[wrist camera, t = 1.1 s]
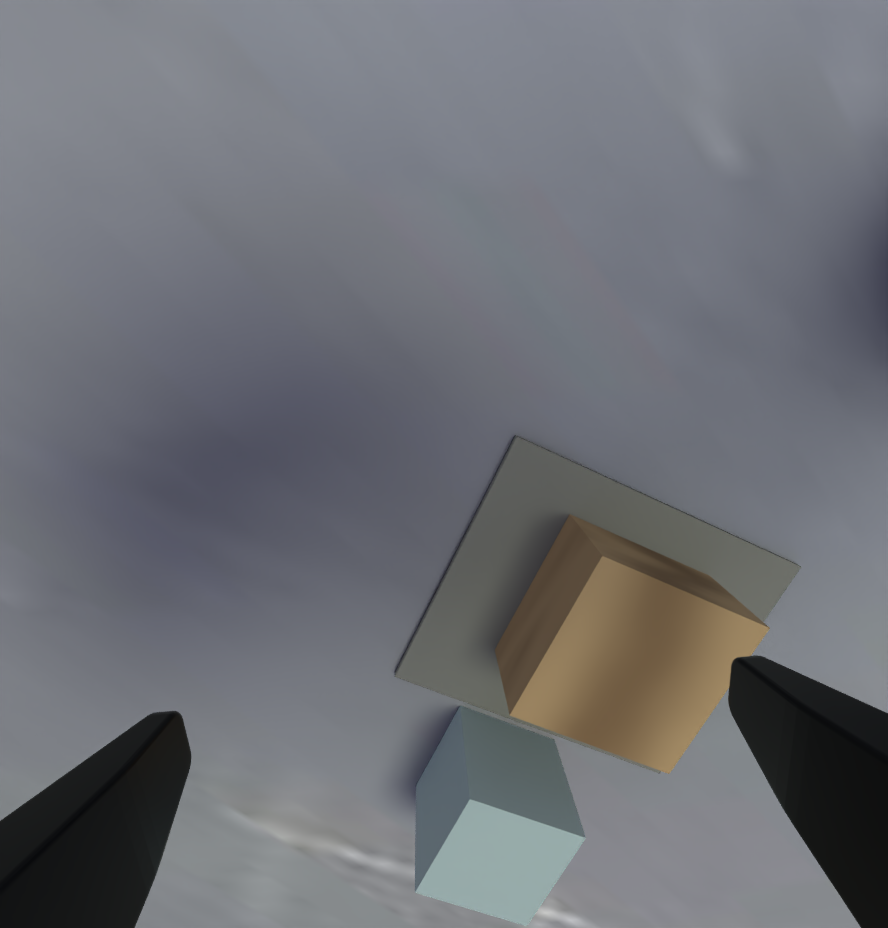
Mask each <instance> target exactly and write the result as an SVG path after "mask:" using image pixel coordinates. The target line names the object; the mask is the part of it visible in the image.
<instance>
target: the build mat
mask: <svg viewBox="0 0 888 928" xmlns="http://www.w3.org/2000/svg"><path fill="white" fill-rule="evenodd" d="M569 514H571V515H573V516H575V517H577V518H580V519H582V520H584V521H587V522H589V523H591V524H593V525H596V526H598V527H600V528H602V529H605V530H607V531H609V532H611V533H614V534H616V535H618V536H621V537H623V538H625V539H627V540H630V541H632V542H634V543H636V544H639V545H641V546H643V547H646V548H648V549H650V550H652V551H655V552H657V553H659V554H661V555H664V556H666V557H668V558H671V559H673V560H675V561H677V562H680V563H682V564H684V565H686V566H689V567H691V568H693V569H695V570H698V571H700V572H702V573H705V574H707V575H709V576H711V577H712V578H713V579H714V580H715V581H716V582H718V583H719V584H720V585H721V586H722V587H723V588H724V589H726V590H727V591H728V592H729V593H730V594H731V595H732V596H734V597H735V598H736V599H737V600H738V601H739V602H741V603H742V604H743V605H744V606H745V607H746V608H747V609H749V610H750V611H751V612H752V613H753V614H754V615H755V616H757V617H758V618H759V619H760V620H761V621H762V622H764V621H765V619H766V618H767V616H768V615H769V613H770V612H771V610H772V609H773V607H774V606H775V605H776V603H777V602H778V600H779V599H780V597H781V596H782V594H783V593H784V591H785V590H786V588H787V587H788V586H789V584H790V583H791V581H792V580H793V578H794V577H795V575H796V574H797V572H798V571H799V569H800V568H801V567H800V566H799V565H797V564H795V563H793V562H791V561H789V560H787V559H784V558H782V557H780V556H778V555H776V554H774V553H771V552H769V551H767V550H765V549H763V548H760V547H758V546H756V545H754V544H752V543H750V542H747V541H745V540H743V539H741V538H739V537H737V536H734V535H732V534H730V533H728V532H726V531H723V530H721V529H719V528H717V527H715V526H713V525H710V524H708V523H706V522H704V521H702V520H699V519H697V518H695V517H693V516H691V515H689V514H686V513H684V512H682V511H680V510H678V509H675V508H673V507H671V506H669V505H667V504H665V503H662V502H660V501H658V500H656V499H654V498H651V497H649V496H647V495H645V494H643V493H641V492H638V491H636V490H634V489H632V488H630V487H627V486H625V485H623V484H621V483H619V482H617V481H614V480H612V479H610V478H608V477H606V476H603V475H601V474H599V473H597V472H595V471H593V470H590V469H588V468H586V467H584V466H582V465H579V464H577V463H575V462H573V461H571V460H569V459H566V458H564V457H562V456H560V455H558V454H555V453H553V452H551V451H549V450H547V449H545V448H542V447H540V446H538V445H536V444H534V443H531V442H529V441H527V440H525V439H523V438H521V437H518V436H516V435H515V437H514V439H513V441H512V443H511V445H510V447H509V449H508V451H507V453H506V455H505V457H504V459H503V461H502V463H501V465H500V467H499V469H498V471H497V472H496V474H495V476H494V478H493V480H492V482H491V484H490V486H489V488H488V490H487V492H486V494H485V496H484V498H483V500H482V502H481V504H480V506H479V508H478V510H477V512H476V514H475V516H474V518H473V520H472V522H471V524H470V526H469V528H468V530H467V532H466V534H465V536H464V538H463V540H462V541H461V543H460V545H459V547H458V549H457V551H456V553H455V555H454V557H453V559H452V561H451V563H450V565H449V567H448V569H447V571H446V573H445V575H444V577H443V579H442V581H441V583H440V585H439V587H438V589H437V591H436V593H435V595H434V597H433V599H432V601H431V603H430V605H429V607H428V609H427V610H426V612H425V614H424V616H423V618H422V620H421V622H420V624H419V626H418V628H417V630H416V632H415V634H414V636H413V638H412V640H411V642H410V644H409V646H408V648H407V650H406V652H405V654H404V656H403V658H402V660H401V662H400V664H399V666H398V668H397V670H396V672H395V677H397V678H400V679H403V680H406V681H408V682H411V683H414V684H416V685H419V686H422V687H425V688H427V689H430V690H433V691H436V692H438V693H441V694H444V695H447V696H449V697H452V698H455V699H457V700H460V701H463V702H466V703H468V704H471V705H474V706H477V707H479V708H482V709H485V710H488V711H490V712H493V713H496V714H498V715H501V716H504V717H507V718H509V719H512V720H515V721H518V722H520V723H523V724H526V725H529V726H531V727H534V728H537V729H539V730H542V731H545V732H548V733H550V734H553V735H556V736H559V737H561V738H564V739H567V740H570V741H572V742H575V743H578V744H580V745H583V746H586V747H589V748H591V749H594V750H597V751H600V752H602V753H605V754H608V755H611V756H613V757H616V758H619V759H621V760H624V761H627V762H630V763H632V764H635V765H638V766H641V767H643V768H646V769H649V770H652V771H654V772H657V773H660V772H661V771H660V770H657V769H654V768H652V767H649V766H646V765H643V764H641V763H638V762H635V761H633V760H630V759H627V758H624V757H622V756H619V755H616V754H613V753H611V752H608V751H605V750H603V749H600V748H597V747H594V746H592V745H589V744H586V743H584V742H581V741H578V740H575V739H573V738H570V737H567V736H564V735H562V734H559V733H556V732H554V731H551V730H548V729H545V728H543V727H540V726H537V725H534V724H532V723H529V722H526V721H524V720H521V719H518V718H515V717H513V716H510V715H509V710H508V706H507V702H506V697H505V693H504V688H503V684H502V680H501V675H500V671H499V667H498V662H497V658H496V653H495V648H496V646H497V645H498V643H499V641H500V639H501V637H502V636H503V634H504V632H505V630H506V628H507V626H508V625H509V623H510V621H511V619H512V617H513V616H514V614H515V612H516V610H517V608H518V607H519V605H520V603H521V601H522V599H523V598H524V596H525V594H526V592H527V590H528V589H529V587H530V585H531V583H532V581H533V580H534V578H535V576H536V574H537V572H538V570H539V569H540V567H541V565H542V563H543V561H544V560H545V558H546V556H547V554H548V552H549V551H550V549H551V547H552V545H553V543H554V542H555V540H556V538H557V536H558V534H559V533H560V531H561V529H562V527H563V525H564V524H565V522H566V520H567V518H568V516H569Z"/></svg>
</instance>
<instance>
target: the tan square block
mask: <svg viewBox="0 0 888 928" xmlns="http://www.w3.org/2000/svg"><path fill="white" fill-rule="evenodd" d="M769 629H770V628H769V627H768V626H767V625H766V624H765V623H763V622H762V621H761V620H760V619H759V618H758V617H757V616H755V615H754V614H753V613H752V612H751V611H750V610H749V609H747V608H746V607H745V606H744V605H743V604H742V603H741V602H739V601H738V600H737V599H736V598H735V597H734V596H732V595H731V594H730V593H729V592H728V591H727V590H726V589H724V588H723V587H722V586H721V585H720V584H719V583H718V582H716V581H715V580H714V579H713V578H712V577H711V576H709V575H707V574H705V573H702V572H700V571H698V570H695V569H693V568H691V567H689V566H686V565H684V564H682V563H680V562H677V561H675V560H673V559H671V558H668V557H666V556H664V555H661V554H659V553H657V552H655V551H652V550H650V549H648V548H646V547H643V546H641V545H639V544H636V543H634V542H632V541H630V540H627V539H625V538H623V537H621V536H618V535H616V534H614V533H611V532H609V531H607V530H605V529H602V528H600V527H598V526H596V525H593V524H591V523H589V522H587V521H584V520H582V519H580V518H577V517H575V516H573V515H571V514H569V516H568V518H567V520H566V522H565V524H564V525H563V527H562V529H561V531H560V533H559V534H558V536H557V538H556V540H555V542H554V543H553V545H552V547H551V549H550V551H549V552H548V554H547V556H546V558H545V560H544V561H543V563H542V565H541V567H540V569H539V570H538V572H537V574H536V576H535V578H534V580H533V581H532V583H531V585H530V587H529V589H528V590H527V592H526V594H525V596H524V598H523V599H522V601H521V603H520V605H519V607H518V608H517V610H516V612H515V614H514V616H513V617H512V619H511V621H510V623H509V625H508V626H507V628H506V630H505V632H504V634H503V636H502V637H501V639H500V641H499V643H498V645H497V646H496V648H495V653H496V658H497V662H498V667H499V671H500V675H501V680H502V684H503V688H504V693H505V697H506V702H507V706H508V710H509V715H510V716H513V717H515V718H518V719H521V720H524V721H526V722H529V723H532V724H534V725H537V726H540V727H543V728H545V729H548V730H551V731H554V732H556V733H559V734H562V735H564V736H567V737H570V738H573V739H575V740H578V741H581V742H584V743H586V744H589V745H592V746H594V747H597V748H600V749H603V750H605V751H608V752H611V753H613V754H616V755H619V756H622V757H624V758H627V759H630V760H633V761H635V762H638V763H641V764H643V765H646V766H649V767H652V768H654V769H657V770H660V771H663V772H665V773H668V774H669V773H670V772H671V771H672V769H673V768H674V766H675V765H676V763H677V762H678V760H679V759H680V758H681V756H682V755H683V753H684V752H685V750H686V749H687V747H688V746H689V745H690V743H691V742H692V740H693V739H694V737H695V736H696V734H697V733H698V731H699V730H700V729H701V727H702V726H703V724H704V723H705V721H706V720H707V718H708V717H709V716H710V714H711V713H712V711H713V710H714V708H715V707H716V705H717V704H718V703H719V701H720V700H721V698H722V697H723V695H724V694H725V692H726V691H727V689H728V688H729V685H730V673H731V664H732V662H733V660H734V659H735V658H737V657H745V656H751V655H752V653H753V652H754V650H755V649H756V647H757V646H758V645H759V643H760V642H761V640H762V639H763V637H764V636H765V634H766V633H767V632H768V630H769Z"/></svg>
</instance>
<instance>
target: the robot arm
mask: <svg viewBox="0 0 888 928" xmlns="http://www.w3.org/2000/svg"><path fill="white" fill-rule="evenodd" d="M728 702H729V707H730V711H731V714H732V716H733V718H734V720H735V722H736V723H737V725H738V727H739V729H740V731H741V733H742V735H743V736H744V738H745V740H746V742H747V744H748V746H749V747H750V749H751V751H752V753H753V755H754V757H755V759H756V760H757V762H758V764H759V766H760V768H761V770H762V772H763V773H764V775H765V777H766V779H767V781H768V783H769V784H770V786H771V788H772V790H773V792H774V794H775V795H776V797H777V799H778V801H779V802H780V804H781V806H782V808H783V809H784V811H785V813H786V814H787V816H788V817H789V819H790V820H791V822H792V824H793V825H794V827H795V828H796V830H797V831H798V833H799V834H800V836H801V837H802V839H803V840H804V842H805V843H806V845H807V846H808V848H809V850H810V851H811V853H812V854H813V856H814V857H815V859H816V860H817V862H818V863H819V865H820V866H821V868H822V869H823V871H824V872H825V874H826V875H827V877H828V878H829V880H830V881H831V883H832V884H833V886H834V887H835V889H836V890H837V892H838V893H839V895H840V896H841V898H842V899H843V901H844V902H845V904H846V905H847V907H848V909H849V910H850V912H851V913H852V915H853V916H854V918H855V919H856V921H857V922H858V924H859V925H860V927H861V928H888V713H886V712H884V711H881V710H879V709H877V708H875V707H873V706H870V705H868V704H866V703H864V702H861V701H859V700H857V699H855V698H853V697H850V696H848V695H846V694H844V693H842V692H839V691H837V690H835V689H833V688H831V687H828V686H826V685H824V684H822V683H820V682H817V681H815V680H813V679H811V678H809V677H806V676H804V675H802V674H800V673H798V672H795V671H793V670H791V669H789V668H787V667H784V666H782V665H780V664H778V663H776V662H773V661H771V660H769V659H767V658H765V657H762V656H745V657H737V658H735V659H734V660H733V662H732V664H731V673H730V685H729V696H728ZM190 765H191V750H190V746H189V742H188V738H187V734H186V730H185V726H184V722H183V718H182V716H181V714H180V713H179V712H177V711H167V712H157V713H152V714H150V715H148V716H147V717H145V718H144V719H142V720H141V721H140V722H138V723H137V724H135V725H134V726H133V727H131V728H130V729H128V730H127V731H126V732H124V733H123V734H121V735H120V736H119V737H117V738H116V739H114V740H113V741H112V742H110V743H109V744H107V745H106V746H105V747H103V748H102V749H100V750H99V751H98V752H96V753H95V754H93V755H92V756H91V757H89V758H88V759H86V760H85V761H84V762H82V763H81V764H79V765H78V766H77V767H75V768H74V769H72V770H71V771H70V772H68V773H67V774H65V775H64V776H62V777H61V778H60V779H58V780H57V781H55V782H54V783H53V784H51V785H50V786H48V787H47V788H46V789H44V790H43V791H41V792H40V793H39V794H37V795H36V796H34V797H33V798H32V799H30V800H29V801H27V802H26V803H25V804H23V805H22V806H20V807H19V808H18V809H16V810H15V811H13V812H12V813H11V814H9V815H8V816H6V817H5V818H4V819H2V820H1V821H0V928H135V925H136V923H137V920H138V918H139V916H140V913H141V911H142V908H143V906H144V904H145V901H146V899H147V896H148V894H149V891H150V889H151V886H152V884H153V881H154V879H155V876H156V873H157V870H158V867H159V865H160V862H161V859H162V856H163V852H164V849H165V846H166V843H167V840H168V837H169V833H170V830H171V827H172V824H173V821H174V817H175V814H176V811H177V808H178V805H179V801H180V798H181V795H182V792H183V789H184V786H185V782H186V779H187V776H188V773H189V769H190Z"/></svg>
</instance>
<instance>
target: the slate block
mask: <svg viewBox="0 0 888 928" xmlns="http://www.w3.org/2000/svg"><path fill="white" fill-rule="evenodd" d="M585 838H586V837H585V834H584V831H583V828H582V825H581V822H580V818H579V815H578V812H577V809H576V806H575V803H574V800H573V797H572V793H571V790H570V787H569V784H568V781H567V778H566V775H565V772H564V769H563V765H562V762H561V759H560V756H559V753H558V750H557V747H556V744H555V741H554V739H551V738H548V737H545V736H543V735H540V734H537V733H534V732H532V731H529V730H526V729H523V728H521V727H518V726H515V725H512V724H510V723H507V722H504V721H501V720H499V719H496V718H493V717H490V716H488V715H485V714H482V713H479V712H477V711H474V710H471V709H468V708H466V707H463V706H460V707H459V709H458V710H457V712H456V714H455V716H454V718H453V719H452V721H451V723H450V725H449V727H448V729H447V730H446V732H445V734H444V736H443V738H442V739H441V741H440V743H439V745H438V747H437V748H436V750H435V752H434V754H433V756H432V758H431V759H430V761H429V763H428V765H427V767H426V768H425V770H424V772H423V774H422V776H421V777H420V779H419V781H418V783H417V785H416V838H415V893H418V894H421V895H424V896H428V897H431V898H434V899H438V900H441V901H444V902H448V903H451V904H454V905H458V906H461V907H464V908H468V909H471V910H474V911H478V912H481V913H484V914H488V915H491V916H494V917H498V918H501V919H504V920H508V921H511V922H514V923H518V924H521V925H524V926H527V925H528V924H529V922H530V921H531V919H532V918H533V916H534V915H535V913H536V912H537V910H538V909H539V907H540V906H541V904H542V903H543V901H544V900H545V898H546V897H547V895H548V894H549V892H550V891H551V889H552V888H553V886H554V885H555V883H556V882H557V880H558V879H559V877H560V876H561V874H562V873H563V871H564V870H565V868H566V867H567V865H568V864H569V862H570V861H571V859H572V858H573V856H574V855H575V853H576V852H577V850H578V849H579V847H580V846H581V844H582V843H583V841H584V840H585Z"/></svg>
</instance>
